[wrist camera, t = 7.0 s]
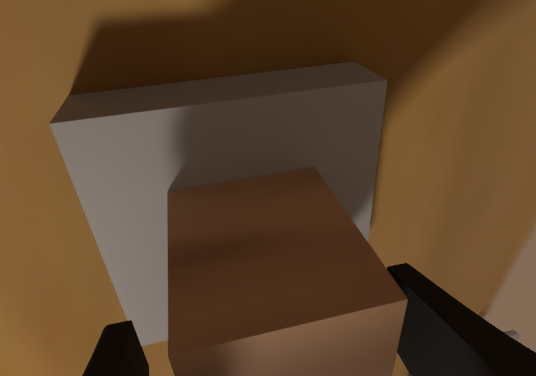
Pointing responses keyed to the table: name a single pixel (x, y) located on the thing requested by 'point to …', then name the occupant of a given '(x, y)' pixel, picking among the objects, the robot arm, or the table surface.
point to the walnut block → (276, 283)
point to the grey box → (210, 158)
